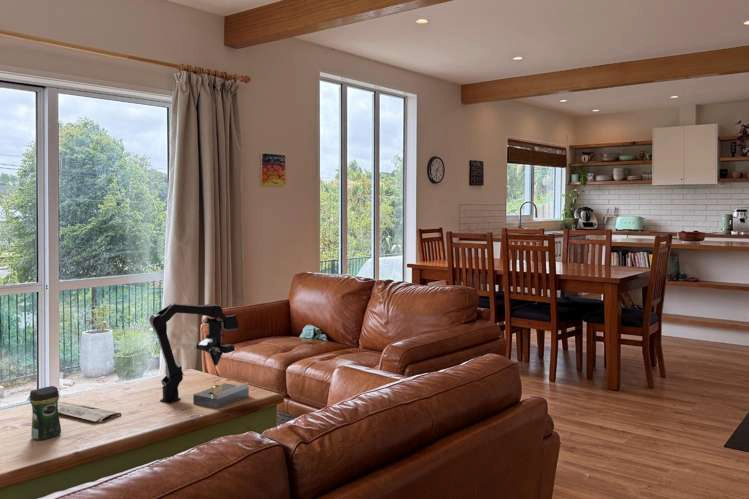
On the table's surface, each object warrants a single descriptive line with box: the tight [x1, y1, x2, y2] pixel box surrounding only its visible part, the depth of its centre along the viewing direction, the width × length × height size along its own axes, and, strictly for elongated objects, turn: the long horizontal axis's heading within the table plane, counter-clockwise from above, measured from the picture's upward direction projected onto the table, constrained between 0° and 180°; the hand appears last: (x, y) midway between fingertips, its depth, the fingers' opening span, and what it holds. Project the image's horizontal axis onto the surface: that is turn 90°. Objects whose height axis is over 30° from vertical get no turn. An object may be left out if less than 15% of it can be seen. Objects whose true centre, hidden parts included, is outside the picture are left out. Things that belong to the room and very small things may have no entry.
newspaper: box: [58, 400, 122, 423], centre depth 265 cm, size 35×12×4 cm, turn 65°
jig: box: [192, 382, 250, 409], centre depth 284 cm, size 14×20×6 cm
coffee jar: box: [29, 385, 62, 441], centre depth 239 cm, size 10×8×19 cm
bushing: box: [211, 384, 222, 395], centre depth 281 cm, size 4×4×7 cm
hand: (215, 365), depth 293 cm, fingers closed
